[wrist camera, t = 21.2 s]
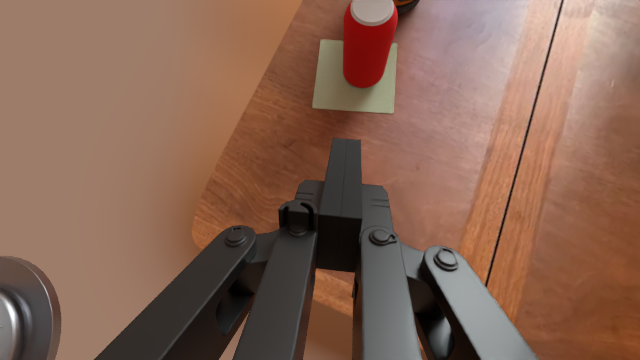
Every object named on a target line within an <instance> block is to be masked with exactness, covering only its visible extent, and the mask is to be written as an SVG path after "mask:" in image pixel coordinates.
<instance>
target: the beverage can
mask: <svg viewBox="0 0 640 360" xmlns="http://www.w3.org/2000/svg"><path fill="white" fill-rule="evenodd" d="M397 21H398V13H397V9H396V6H395V4H394V2H393V0H352V2H351V3H350V4H349V6H348V7H347V9H346V12H345V15H344V33H343V75H344V77H345V79H346V81H347V82H348V83H349V84H350V85H351V86H353V87H356V88H360V89H364V88H369V87H372V86H374V85H375V84H376V83H378V82H379V81H380V80H381V78H382V77H383V74H384V71H385V67H386V63H387V60H388V56H389V52H390V48H391V45H392V41H393V37H394V33H395V30H396V26H397Z"/></svg>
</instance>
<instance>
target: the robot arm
mask: <svg viewBox="0 0 640 360" xmlns="http://www.w3.org/2000/svg"><path fill="white" fill-rule="evenodd" d="M388 201H389V200H388V194H387V192H386V190H385V189H384V188H383V187H382V186H378V185H367V184H362V175H361V140H353V139H339V138H333V141H332V146H331V151H330V156H329V162H328V167H327V172H326V177H325V181H314V180H304V181H303V182H302V183H301V184H300V185H299V187H298V190H297V193H296V195H295V199H294V200H292V201H288V202H286V203H284V204H283V205H281V207H280V208H279V209H278V211H279V226H280V228H279V229H278V230H276V231H273V232H269V233H264V234H256V233H255V232H254V230H253V229H252V228H250V227H248V226H241V225H239V226H232V227H230V228H227V229H225V230H224V231H222V232H221V233H220V234H219V235H218V236H217V237H216V238H215V239H214V240H213V241H212V242H211V243H210V244H209V245H208V246H207V247H206V248H205V249H204V250H203V251H202V252H201V253H200V254H199V255H198V256H197V257H196V258H195V259H194V260H193V261H192V262H191V263H190V264H189V265H188V266H187V267H186V268H185V269H184V270H183V271H182V272H181V273H180V274H179V275H178V276H177V277H176V278H175V279H174V280H173V281H172V282H171V283H170V284H169V285H168V286H167V287H166V288H165V289H164V290H163V291H162V292H161V293H160V294H159V295H158V296H157V297H156V298H155V299H154V300H153V301H152V302H151V303H150V304H149V305H148V306H147V307H146V308H145V309H144V310H143V311H142V312H141V313H140V314H139V315H138V316H137V317H136V318H135V319H134V320H133V321H132V322H131V323H130V324H129V325H128V326H127V327H126V328H125V329H124V330H123V331H122V332H121V333H120V334H119V335H118V336H117V337H116V338H115V339H114V340H113V341H112V342H111V343H110V344H109V345H108V346H107V347H106V348H105V349H104V350H103V351H102V352H101V353H100V354H99V355H98V356H97V357H96V358H95V359H94V360H219V358H220V357H221V355H222V354H223V352H224V350H225V349H226V347H227V346H228V344H229V343H230V341H231V339H232V338H233V336H234V335H235V333H236V331H237V330H238V328H239V326H240V325H241V324H242V322H243V320H244V319H245V317H246V316H247V314H248V313H249V315H248V317H247V320H246V323H245V326H244V329H243V331H242V334H241V337H240V340H239V343H238V345H237V348H236V351H235V354H234V356H233V359H232V360H303V355H304V349H305V342H306V336H307V330H308V323H309V317H310V310H311V303H312V297H313V291H314V285H315V271H316V268H319V269H328V270H336V271H345V272H353V273H354V272H355V278H354V285H353V291H352V298H353V339H352V340H353V341H352V360H422V357H421V352H420V347H419V341H418V337H419V339H420V342H421V344H422V346H423V349H424V351H425V353H426V356H427V358H428V360H539V359H538V358H537V356H536V355H535V354H534V352H533V351H532V349H531V348H530V347H529V345H528V344H527V343H526V341H525V340H524V339H523V337H522V336H521V335H520V333H519V332H518V330H517V329H516V328H515V326H514V325H513V324H512V322H511V321H510V320H509V318H508V317H507V315H506V314H505V313H504V311H503V310H502V309H501V307H500V306H499V305H498V303H497V302H496V300H495V299H494V298H493V296H492V295H491V294H490V292H489V291H488V290H487V288H486V287H485V285H484V284H483V283H482V281H481V280H480V279H479V277H478V276H477V275H476V273H475V272H474V271H473V269H472V268H471V266H470V265H469V264H468V262H467V261H466V260H465V259H464V258H463V257H462V256H461V255H460V254H459V253H458V252H456V251H454V250H453V249H451V248H448V247H445V246H432V247H429V248H428V249H427V250H425V252H423V251H420V250H417V249H414V248H412V247H409V246H407V245H405V244H404V243H402V242H401V241H400V239H399V237H398V235H397V234H396V233H395V232H394V230H393V224H392V218H391V212H390V208H389V207H390V206H389V202H388ZM249 311H250V312H249ZM417 334H418V336H417ZM23 341H24V320H23V315H22V312H21V309H20V307H19V305H18V303H17V301H16V300H15V298H14V297H13V296H12V295H11V294H10V293H9V292H7V291H6V290H4V289H2V288H0V360H18V359H19V357H20V354H21V350H22V346H23Z"/></svg>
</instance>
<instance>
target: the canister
mask: <svg viewBox="0 0 640 360" xmlns="http://www.w3.org/2000/svg"><path fill="white" fill-rule="evenodd" d="M393 2H394V4H395V6H396V9H397V13H398V14H402V13H405V12H408V11H409V10H411V9H412V8H414V7H415V6H416V5H417V3H418V2H419V0H393Z"/></svg>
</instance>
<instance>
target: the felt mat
mask: <svg viewBox="0 0 640 360" xmlns="http://www.w3.org/2000/svg"><path fill="white" fill-rule="evenodd" d="M396 57H397V43H392V45H391V48H390V52H389V56H388V60H387V63H386V67H385V71H384V74H383V77H382V78H381V80H380V81H379V82H378V83H376V84H375V85H374V86H372V87H369V88H364V89H360V88H356V87H353V86H351V85H350V84H349V83H348V82H347V81H346V79H345V77H344V75H343V41H338V40H321V43H320V50H319V58H318V66H317V73H316V81H315V89H314V97H313V104H312V108H316V109H330V110H345V111H359V112H373V113H388V114H393V111H394V93H395V75H396Z"/></svg>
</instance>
